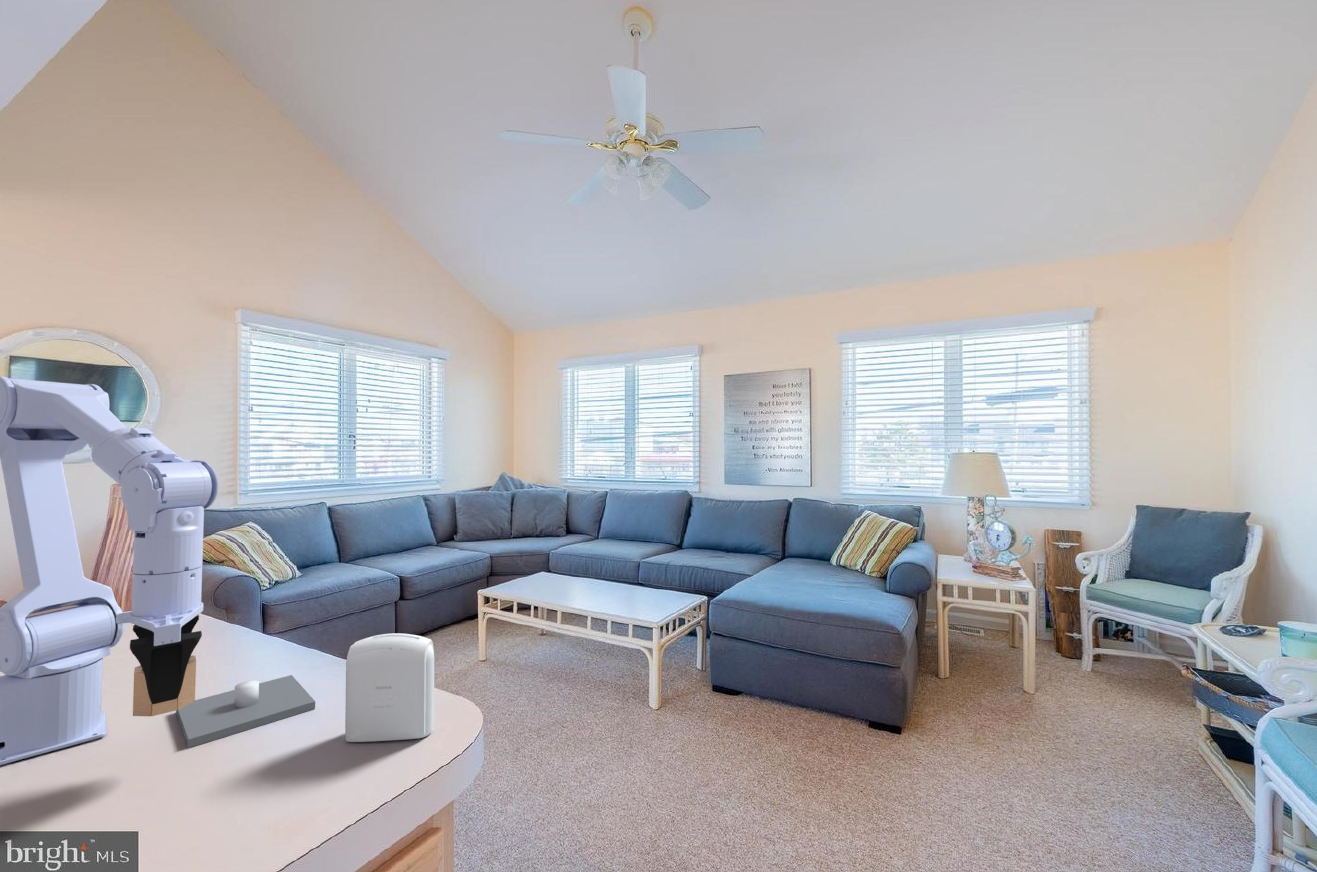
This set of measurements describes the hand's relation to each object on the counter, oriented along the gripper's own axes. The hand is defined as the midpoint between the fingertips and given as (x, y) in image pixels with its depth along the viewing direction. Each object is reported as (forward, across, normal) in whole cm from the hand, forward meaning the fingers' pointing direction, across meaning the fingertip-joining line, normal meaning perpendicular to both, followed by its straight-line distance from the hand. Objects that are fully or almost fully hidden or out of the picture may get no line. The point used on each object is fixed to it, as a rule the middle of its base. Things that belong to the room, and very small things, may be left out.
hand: (165, 691), depth 59 cm
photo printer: (+9, +10, +21) cm, 24 cm away
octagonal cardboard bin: (+2, 0, 0) cm, 2 cm away
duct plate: (+8, -10, +8) cm, 15 cm away
